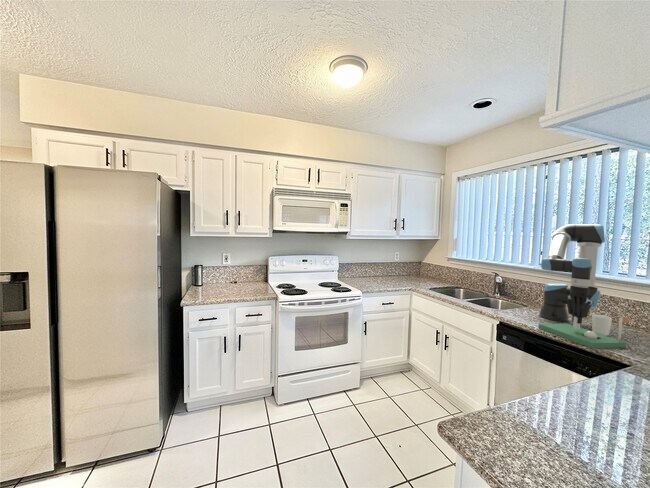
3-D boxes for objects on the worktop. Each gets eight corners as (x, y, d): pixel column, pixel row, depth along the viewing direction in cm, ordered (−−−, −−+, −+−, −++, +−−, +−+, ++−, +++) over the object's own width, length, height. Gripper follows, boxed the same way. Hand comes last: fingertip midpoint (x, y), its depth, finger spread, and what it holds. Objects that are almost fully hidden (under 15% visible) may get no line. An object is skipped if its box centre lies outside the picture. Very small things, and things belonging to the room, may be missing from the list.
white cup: (614, 336, 149) (616, 319, 149) (597, 335, 150) (599, 317, 150) (602, 331, 157) (604, 314, 156) (587, 330, 158) (588, 313, 158)
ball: (585, 341, 144) (591, 334, 144) (595, 344, 139) (601, 337, 139) (579, 334, 144) (585, 328, 144) (589, 337, 139) (595, 330, 139)
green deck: (570, 327, 162) (572, 303, 162) (629, 347, 135) (631, 318, 134) (538, 327, 159) (540, 303, 158) (592, 348, 131) (594, 319, 131)
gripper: (561, 283, 153) (558, 324, 154) (587, 288, 140) (584, 333, 141) (572, 283, 154) (569, 324, 155) (599, 288, 141) (595, 332, 142)
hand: (576, 328), depth 148 cm, fingers closed
